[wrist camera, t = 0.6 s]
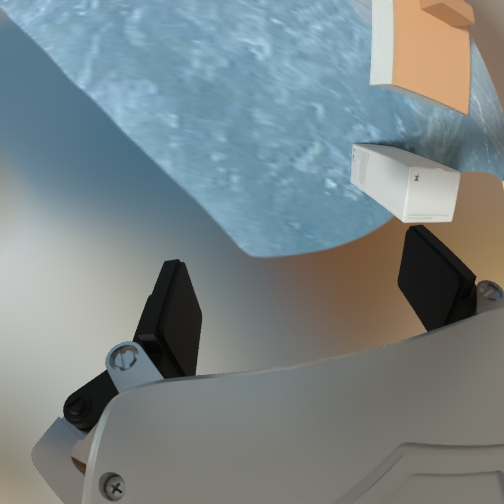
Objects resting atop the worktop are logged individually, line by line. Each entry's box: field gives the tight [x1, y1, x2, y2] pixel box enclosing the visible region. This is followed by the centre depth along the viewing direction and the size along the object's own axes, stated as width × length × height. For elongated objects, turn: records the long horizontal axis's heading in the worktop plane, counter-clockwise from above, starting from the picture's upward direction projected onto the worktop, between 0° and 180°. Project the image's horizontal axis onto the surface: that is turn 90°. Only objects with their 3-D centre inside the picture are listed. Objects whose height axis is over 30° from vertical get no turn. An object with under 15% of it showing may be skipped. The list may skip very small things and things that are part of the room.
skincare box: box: [350, 143, 461, 222], centre depth 30 cm, size 8×7×16 cm
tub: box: [370, 0, 453, 110], centre depth 24 cm, size 16×13×7 cm
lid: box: [391, 0, 474, 115], centre depth 19 cm, size 17×14×7 cm
